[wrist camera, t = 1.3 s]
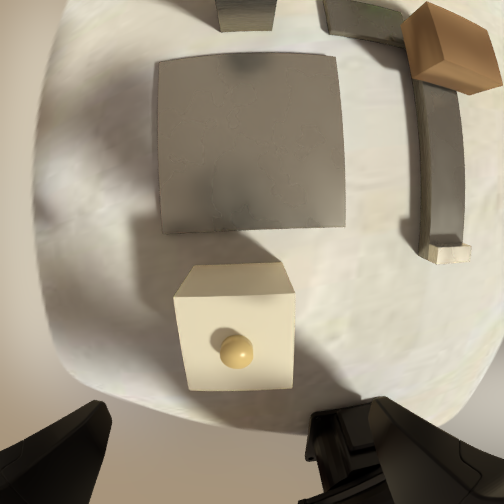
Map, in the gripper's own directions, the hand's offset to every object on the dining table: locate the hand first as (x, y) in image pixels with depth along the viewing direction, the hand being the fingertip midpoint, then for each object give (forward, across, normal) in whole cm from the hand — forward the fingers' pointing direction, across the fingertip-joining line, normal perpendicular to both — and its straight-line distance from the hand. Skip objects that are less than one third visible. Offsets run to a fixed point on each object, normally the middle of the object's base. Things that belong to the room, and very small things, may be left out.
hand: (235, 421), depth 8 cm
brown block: (+8, -13, -16) cm, 22 cm away
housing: (+9, 0, 0) cm, 9 cm away
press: (+9, -5, -11) cm, 15 cm away
